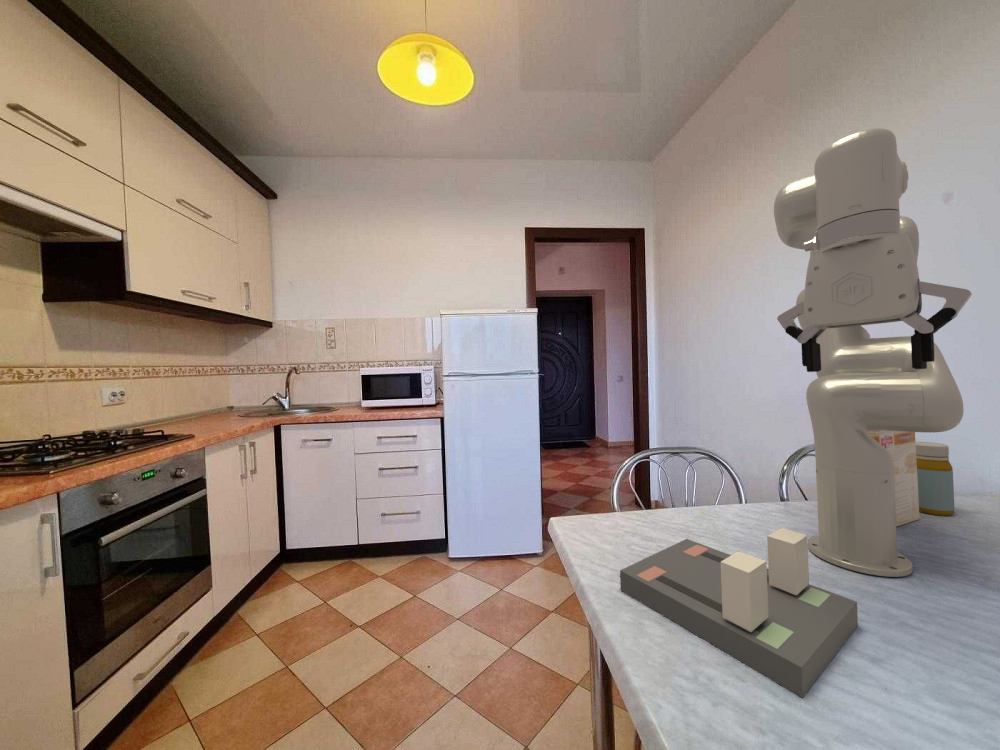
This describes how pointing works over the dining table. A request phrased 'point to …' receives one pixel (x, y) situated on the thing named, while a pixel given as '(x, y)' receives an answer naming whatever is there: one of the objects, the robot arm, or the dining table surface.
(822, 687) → the dining table surface
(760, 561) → the block
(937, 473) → the bottle
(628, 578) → the breaker panel
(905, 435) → the coffeecake box
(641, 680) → the dining table surface
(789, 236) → the robot arm
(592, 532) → the dining table surface
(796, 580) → the block
